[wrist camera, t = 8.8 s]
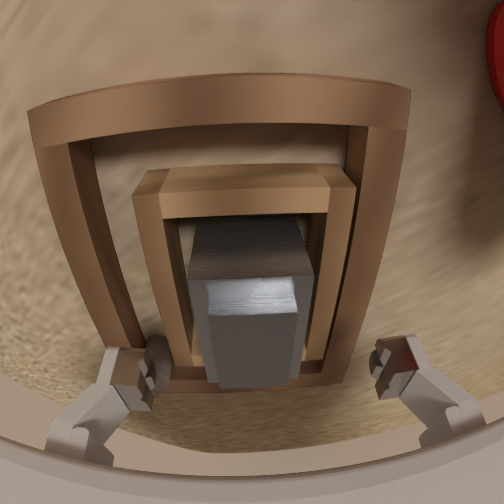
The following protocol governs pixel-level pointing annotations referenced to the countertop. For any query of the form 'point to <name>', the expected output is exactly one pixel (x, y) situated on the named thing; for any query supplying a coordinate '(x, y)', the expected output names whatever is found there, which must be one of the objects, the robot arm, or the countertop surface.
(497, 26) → the canned food
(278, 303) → the grey block
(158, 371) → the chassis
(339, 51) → the countertop surface
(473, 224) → the countertop surface
